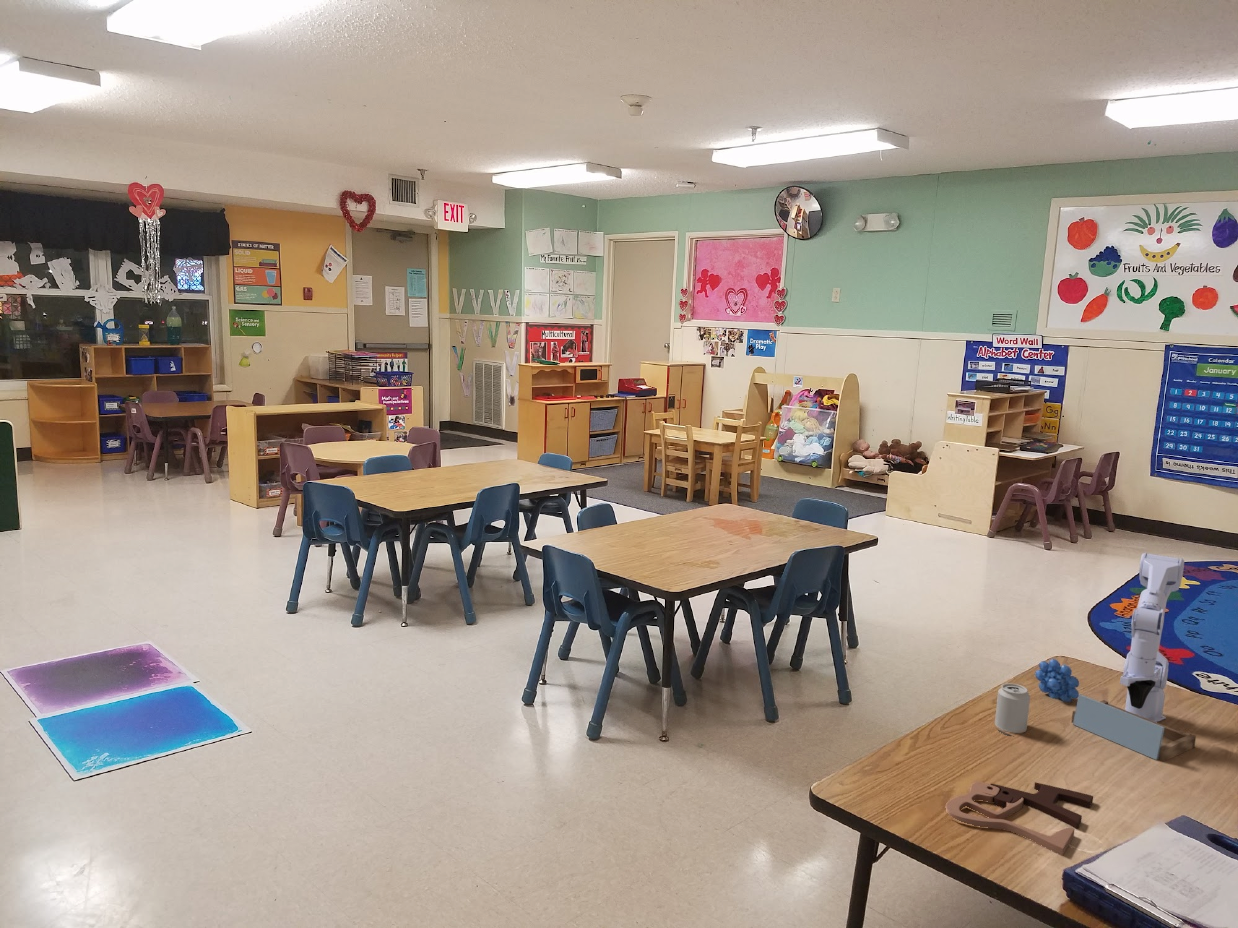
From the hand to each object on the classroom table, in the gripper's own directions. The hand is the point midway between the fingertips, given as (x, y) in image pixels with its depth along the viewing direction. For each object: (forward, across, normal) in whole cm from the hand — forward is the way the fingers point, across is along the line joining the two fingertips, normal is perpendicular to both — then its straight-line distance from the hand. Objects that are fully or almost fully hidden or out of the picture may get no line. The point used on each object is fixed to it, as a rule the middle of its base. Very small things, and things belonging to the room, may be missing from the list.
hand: (1136, 706), depth 226 cm
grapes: (+9, +2, +23) cm, 25 cm away
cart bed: (+9, -1, 0) cm, 9 cm away
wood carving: (+10, -55, -6) cm, 56 cm away
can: (+9, -24, +18) cm, 31 cm away
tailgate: (+7, -8, 0) cm, 11 cm away
